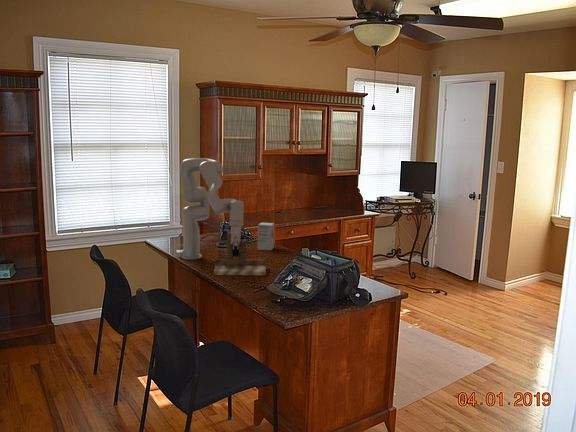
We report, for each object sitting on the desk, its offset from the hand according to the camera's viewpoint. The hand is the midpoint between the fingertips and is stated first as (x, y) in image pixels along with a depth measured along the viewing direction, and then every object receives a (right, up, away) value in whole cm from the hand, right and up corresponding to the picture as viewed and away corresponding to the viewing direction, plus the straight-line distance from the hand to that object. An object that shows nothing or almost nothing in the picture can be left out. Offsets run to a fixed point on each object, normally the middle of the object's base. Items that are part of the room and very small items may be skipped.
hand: (235, 254), depth 281 cm
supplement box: (+14, 0, +55) cm, 56 cm away
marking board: (+2, -9, -1) cm, 9 cm away
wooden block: (0, -6, +1) cm, 6 cm away
